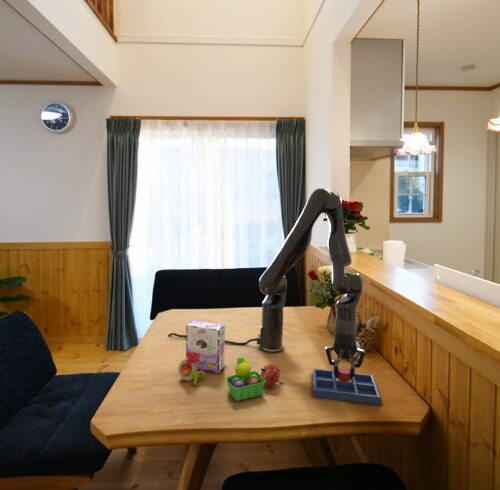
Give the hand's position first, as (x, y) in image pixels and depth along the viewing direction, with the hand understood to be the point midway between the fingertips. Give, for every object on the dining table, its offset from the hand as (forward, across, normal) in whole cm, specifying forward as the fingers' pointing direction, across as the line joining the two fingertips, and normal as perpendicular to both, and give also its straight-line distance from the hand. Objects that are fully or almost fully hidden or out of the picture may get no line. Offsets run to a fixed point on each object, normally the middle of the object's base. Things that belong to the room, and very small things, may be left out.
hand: (343, 376), depth 122 cm
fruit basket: (+3, +33, +13) cm, 36 cm away
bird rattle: (+2, +53, +10) cm, 54 cm away
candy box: (+2, +51, -1) cm, 51 cm away
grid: (+2, 0, +3) cm, 4 cm away
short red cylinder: (0, 0, 0) cm, 0 cm away
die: (+3, -4, -23) cm, 23 cm away
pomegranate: (+3, +25, +6) cm, 26 cm away
